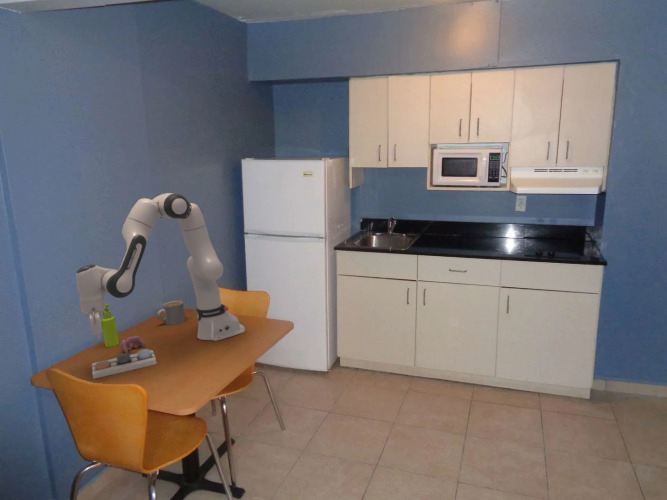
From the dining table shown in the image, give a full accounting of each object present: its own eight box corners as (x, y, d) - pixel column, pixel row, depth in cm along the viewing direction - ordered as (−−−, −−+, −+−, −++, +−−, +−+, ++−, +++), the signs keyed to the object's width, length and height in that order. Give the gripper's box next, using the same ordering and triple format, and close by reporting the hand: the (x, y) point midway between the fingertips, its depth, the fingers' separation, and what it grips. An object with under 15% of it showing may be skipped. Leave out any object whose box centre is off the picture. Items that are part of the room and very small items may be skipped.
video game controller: (142, 348, 224) (137, 334, 225) (147, 346, 221) (141, 331, 222) (122, 356, 217) (117, 341, 217) (126, 353, 214) (121, 339, 214)
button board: (153, 354, 213) (152, 350, 212) (156, 364, 202) (156, 359, 202) (92, 367, 202) (92, 363, 202) (93, 378, 192) (92, 374, 191)
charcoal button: (130, 359, 205) (129, 352, 204) (131, 363, 201) (130, 356, 200) (117, 361, 203) (116, 355, 202) (118, 366, 198) (117, 359, 198)
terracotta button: (110, 366, 202) (108, 359, 201) (110, 370, 197) (109, 364, 197) (96, 369, 200) (95, 362, 199) (97, 373, 195) (95, 367, 195)
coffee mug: (184, 317, 260) (181, 299, 258) (186, 322, 251) (184, 304, 249) (157, 322, 255) (155, 304, 253) (159, 327, 246) (156, 309, 244)
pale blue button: (150, 354, 208) (149, 348, 208) (151, 358, 204) (150, 352, 203) (137, 357, 206) (136, 350, 206) (138, 361, 202) (137, 354, 201)
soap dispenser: (108, 342, 230) (102, 302, 226) (121, 342, 229) (115, 302, 225) (100, 347, 225) (93, 306, 221) (113, 347, 223) (106, 306, 219)
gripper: (102, 310, 185) (108, 344, 188) (100, 298, 203) (106, 329, 206) (84, 314, 182) (90, 348, 185) (84, 301, 200) (90, 332, 203)
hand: (98, 338), depth 196 cm, fingers closed
